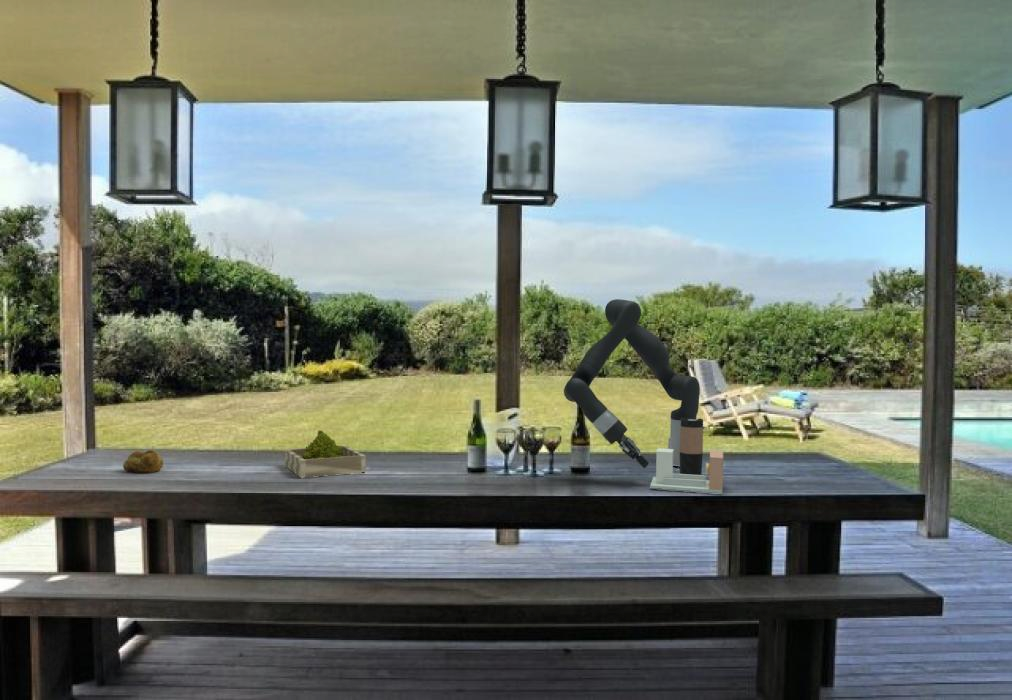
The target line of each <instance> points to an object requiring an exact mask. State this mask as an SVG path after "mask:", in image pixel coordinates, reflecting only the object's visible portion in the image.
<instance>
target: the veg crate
mask: <svg viewBox="0 0 1012 700" xmlns="http://www.w3.org/2000/svg"><path fill="white" fill-rule="evenodd" d="M342 446H343V448H342V453H341V456H345V457H331V458H318V459H305V460H304V459H303V457H302V454H303V453H306V447H305V448H290V449H289V448H288V449H285V450H284V452H285V453H284V467H285V466H286V467H287V469H288V468H289V469H290V470H291V471H290V470H289V469H288V470H289V471H290V472H292V471H293V472H294V473H295V474H297V475H298V476H299V477H301V478H304V477H313V476H324V475H336V474H350V475H352V474H351V473H361V472H366V471H367V470H366V466H367V464H366V461H367V460H366V459H367V457H366V455H365V454H364V453H361V452H359V451H357V450H355V449H354V448H351V447H349V446H348V445H342ZM286 467H285V468H286ZM293 472H292V473H293ZM294 473H293V474H294ZM297 475H296V476H297ZM298 476H297V477H298ZM299 477H298V478H299ZM301 478H300V479H301ZM304 479H305V478H304Z"/></svg>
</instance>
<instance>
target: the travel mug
mask: <svg viewBox="0 0 1012 700" xmlns="http://www.w3.org/2000/svg"><path fill="white" fill-rule="evenodd" d="M703 445H704V419H703V418H696V420H694V419H692V418H681V428H680V468H679V474H690V475H703V474H702V473H703V472H702V471H703V470H702V469H703V454H704V452H703V451H704V446H703Z"/></svg>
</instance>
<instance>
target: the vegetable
mask: <svg viewBox="0 0 1012 700" xmlns="http://www.w3.org/2000/svg"><path fill="white" fill-rule="evenodd" d="M309 443H310V444H307V446H305V448H306V453H303V454H302V457H303V459H304V460H305V459H318V458H331V457H345V456H341V453H342V448H343V446H344V445H337V444H336V441H335V439H332V437H330V435H328V434H327V433H326V432H324V431H323V430H318V431H317V436H316V437H315V438H314V439H313V441H312V442H309Z"/></svg>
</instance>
